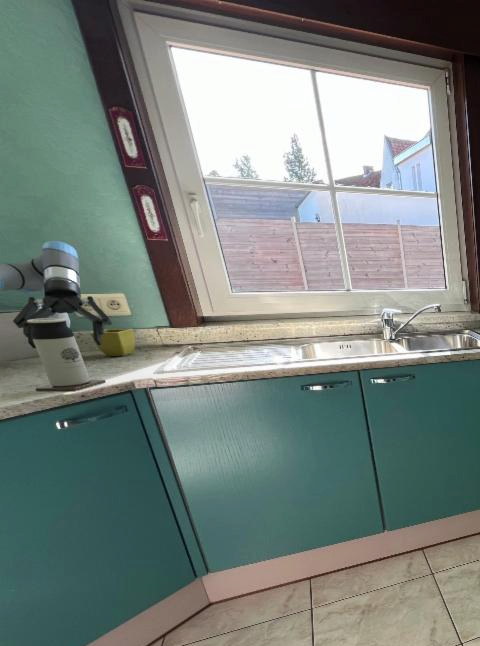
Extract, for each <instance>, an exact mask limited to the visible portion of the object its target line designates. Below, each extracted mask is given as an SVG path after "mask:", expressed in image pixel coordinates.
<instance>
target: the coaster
mask: <svg viewBox="0 0 480 646" xmlns="http://www.w3.org/2000/svg"><path fill="white" fill-rule="evenodd" d="M101 383H102V384H104V383H106V380H105V379H90V381H89V382H87V383H85V384H81V385H75V386H64V387H57V386H53V385H51V384H46V385H43V386H39V387H36V388H35V391H36V392H77V391H80V389H81V390H84V389H87V387H88V388H91V387H94V386H93V385H95V386H98V385H102V384H101ZM97 384H98V385H97ZM90 386H91V387H90ZM83 388H84V389H83ZM76 390H77V391H76Z"/></svg>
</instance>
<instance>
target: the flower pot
mask: <svg viewBox="0 0 480 646" xmlns="http://www.w3.org/2000/svg"><path fill="white" fill-rule="evenodd" d="M104 331H105V333H104V334H101V345H97V343H96V342H95V340H94V333H93V331H91V332H89V335H90V336H91V338H92V340H93V342H94V344H95V345H96V347H97V348H98V349H99V351H101V352H102V353H103V354H104V355H106V356H107V357H124V356H128V355H132V354H133V353H134V350H135V347H136V338H135V333H134V329H133V328H107V329H105V328H104Z"/></svg>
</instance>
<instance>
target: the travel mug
mask: <svg viewBox="0 0 480 646" xmlns="http://www.w3.org/2000/svg"><path fill="white" fill-rule="evenodd" d="M66 320H67V319H66V318H40V319H31V320H27V322H29V324H30V325H31V327H32V329H31V332H30V334H31V336H32V339H33V341H34V344H35V346H36V348H35V349H36V351H37V353H38V356H39V358H40V361H41V364H42V366H43V369H44V371H45V373H46V376H47V378H48V381H49V383H50V384H51V385H53V386H57V387H64V386H75V385H81V384H85V383H87V382H89V381H90V380H91V379H90V375H89V372H88V370H87V367H86V364H85V362H84V359H83V356H82V354H81V351H80V348H79V346H78V342H77V340H76V337H75V333H74V332H73V330H72V329H71V327H70V328H69V327H68V326H67V324H66ZM50 384H49V385H50Z"/></svg>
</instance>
